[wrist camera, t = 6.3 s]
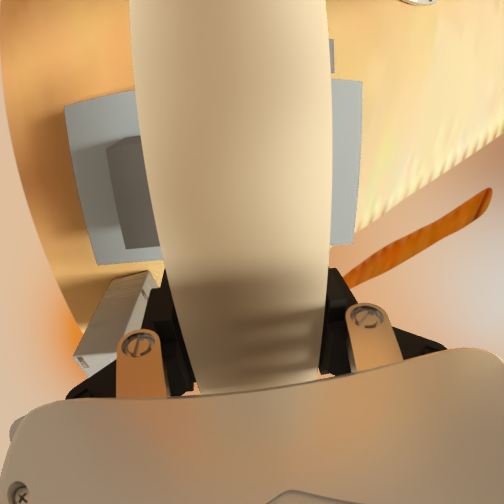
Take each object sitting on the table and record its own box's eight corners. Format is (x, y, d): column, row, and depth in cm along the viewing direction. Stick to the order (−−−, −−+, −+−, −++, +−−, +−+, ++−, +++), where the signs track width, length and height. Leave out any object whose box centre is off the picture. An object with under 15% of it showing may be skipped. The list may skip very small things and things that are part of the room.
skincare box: (172, 313, 45) (160, 401, 31) (130, 322, 45) (108, 406, 31) (149, 266, 41) (124, 353, 27) (105, 278, 41) (68, 361, 27)
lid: (351, 81, 25) (390, 82, 19) (344, 232, 33) (372, 269, 27) (75, 104, 23) (35, 112, 17) (104, 253, 31) (81, 294, 25)
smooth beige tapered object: (278, -39, 7) (311, -93, 3) (288, 422, 18) (300, 474, 15) (158, -31, 7) (131, -84, 3) (228, 430, 18) (233, 483, 15)
